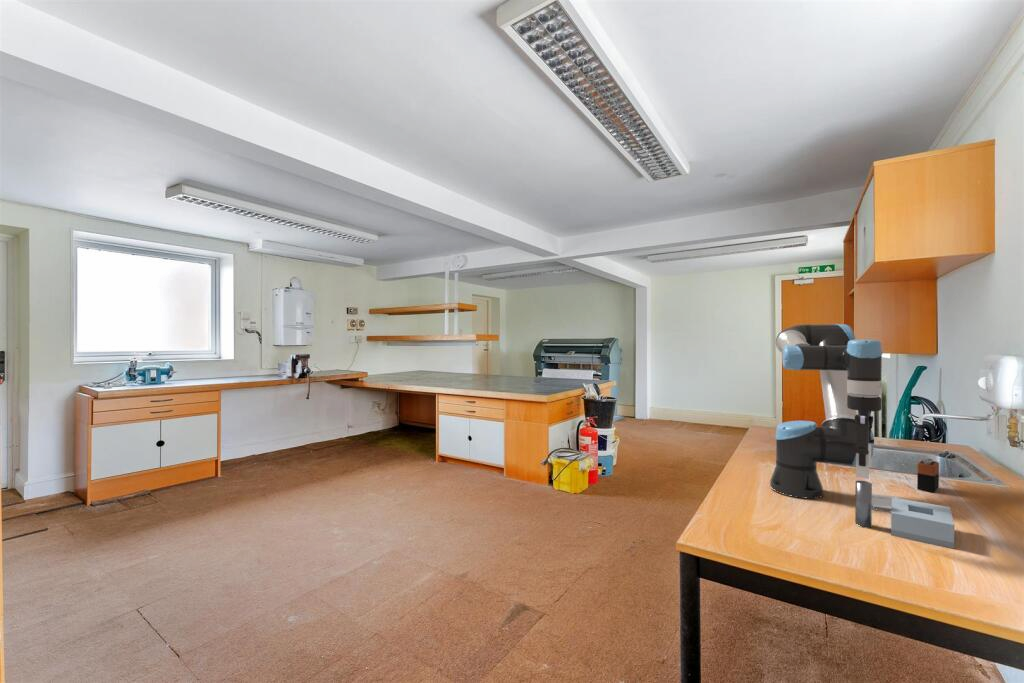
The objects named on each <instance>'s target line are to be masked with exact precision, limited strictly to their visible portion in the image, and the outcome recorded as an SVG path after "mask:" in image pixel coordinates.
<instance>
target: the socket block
mask: <svg viewBox="0 0 1024 683" xmlns="http://www.w3.org/2000/svg"><path fill="white" fill-rule="evenodd" d="M894 497H895V496H894ZM894 497H892V508H891V512H890V513H891V514H890V520H891V522H890V523H891V524H890V526H891V527H890V535H891V536H893V535H894V537H898V538H903V539H907V540H912V541H917V542H922V543H924V544H931V545H935V546H939V547H944V548H949V549H955V522H954V519H953V515H952V512H951V507H950V506H944V505H940V504H939V505H938V504H932V503H928V502H921V501H917V500H916V501H915V500H910V499H906V498H900V497H895V498H894Z"/></svg>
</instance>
